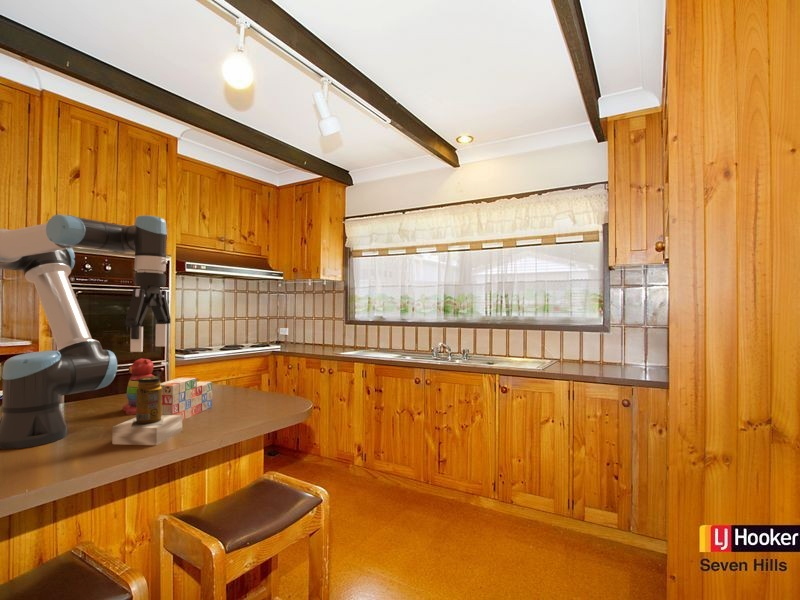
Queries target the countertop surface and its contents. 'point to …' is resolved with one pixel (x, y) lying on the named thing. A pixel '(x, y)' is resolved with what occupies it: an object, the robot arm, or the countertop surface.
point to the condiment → (148, 402)
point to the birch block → (147, 431)
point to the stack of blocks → (185, 397)
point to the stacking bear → (136, 382)
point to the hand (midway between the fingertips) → (149, 348)
